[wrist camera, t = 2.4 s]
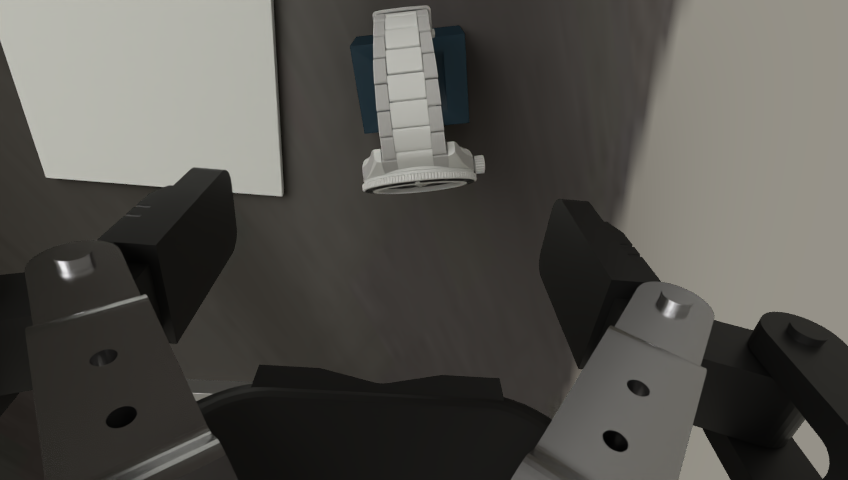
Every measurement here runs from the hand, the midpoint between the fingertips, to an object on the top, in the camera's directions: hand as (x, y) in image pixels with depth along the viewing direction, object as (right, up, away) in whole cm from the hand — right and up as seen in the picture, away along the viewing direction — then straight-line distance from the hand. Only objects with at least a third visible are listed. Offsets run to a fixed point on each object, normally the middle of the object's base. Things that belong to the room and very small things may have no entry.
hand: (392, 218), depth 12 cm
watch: (0, +9, +15) cm, 17 cm away
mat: (-14, +11, +13) cm, 22 cm away
